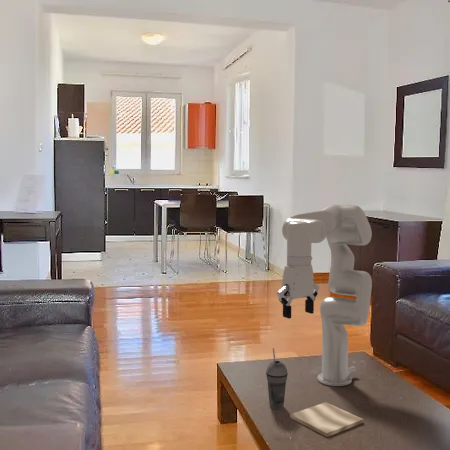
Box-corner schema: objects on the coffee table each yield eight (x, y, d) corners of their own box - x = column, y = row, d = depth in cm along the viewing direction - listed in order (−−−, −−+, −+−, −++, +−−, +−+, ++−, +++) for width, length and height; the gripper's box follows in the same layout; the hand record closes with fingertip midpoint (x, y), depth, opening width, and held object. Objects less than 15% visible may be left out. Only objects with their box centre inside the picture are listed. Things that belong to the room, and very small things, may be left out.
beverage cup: (286, 412, 183) (286, 352, 181) (264, 410, 185) (264, 351, 183) (288, 403, 191) (288, 345, 189) (267, 401, 192) (267, 344, 190)
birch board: (325, 405, 189) (325, 402, 188) (363, 422, 176) (363, 419, 176) (290, 417, 179) (290, 414, 179) (326, 437, 166) (326, 433, 166)
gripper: (310, 257, 183) (309, 308, 184) (270, 262, 172) (269, 317, 174) (327, 260, 177) (326, 313, 178) (286, 265, 166) (286, 322, 168)
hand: (298, 315), depth 176 cm, fingers open, 9 cm apart
